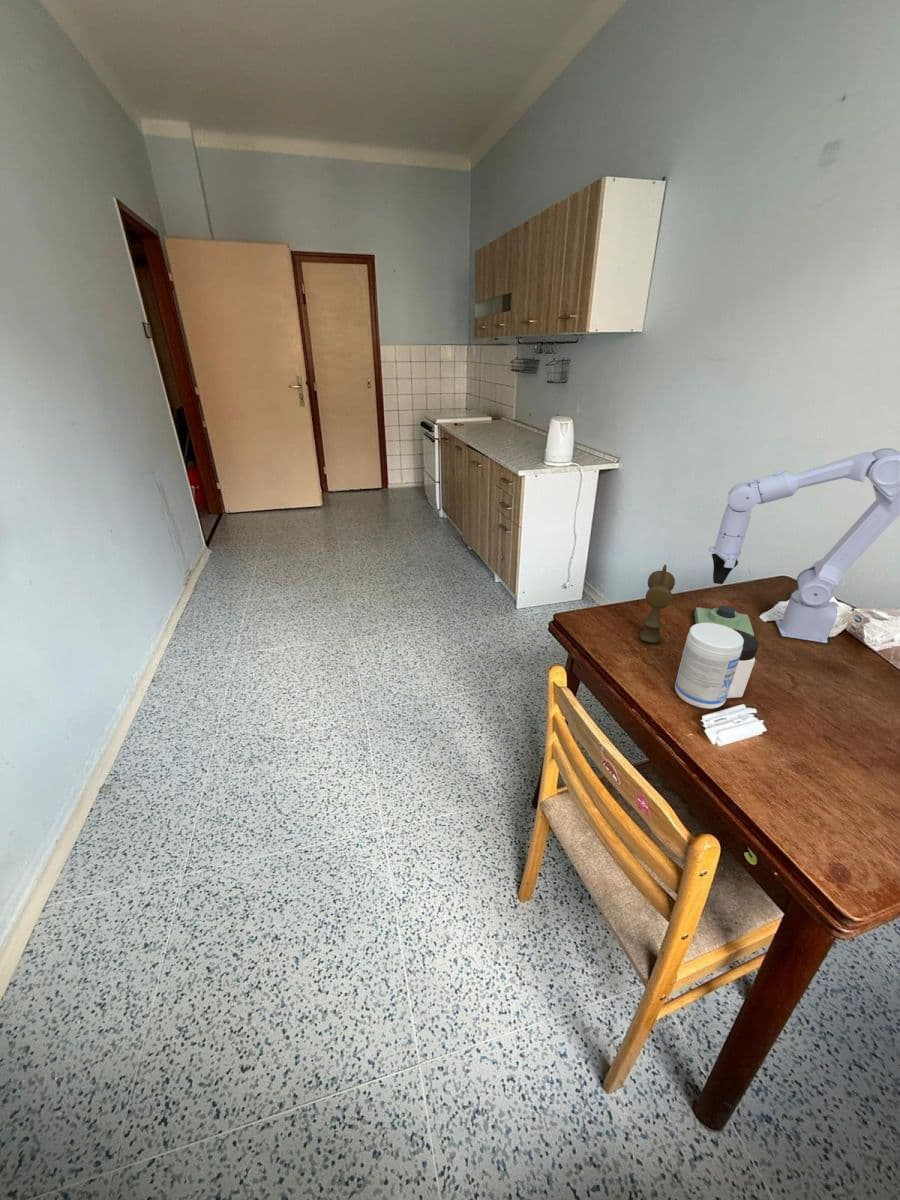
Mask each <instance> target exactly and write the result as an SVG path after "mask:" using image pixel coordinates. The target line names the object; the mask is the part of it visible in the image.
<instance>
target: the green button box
mask: <svg viewBox="0 0 900 1200" xmlns="http://www.w3.org/2000/svg"><path fill="white" fill-rule="evenodd" d="M718 609H719V607H714V608H704V607H700V606H699V607H698V606H695V610H694V621H695V624H698V623H715V624H720V625H723V626H726V627H729V628H731V629H737V630H740V631H743V632H746V633H748V634H750V635H752V636H753V637H755V633H754V630H753V629H754V628H753V626H752V623H751V620H750V616H749V615H748V614H745V613H740V612H739V613H738V612H737V611H736V610H735V614H734V617H733V618H724V617H722V616H719V615H718V614H717V613H718Z"/></svg>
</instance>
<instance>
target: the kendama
mask: <svg viewBox="0 0 900 1200" xmlns="http://www.w3.org/2000/svg"><path fill="white" fill-rule="evenodd" d="M675 584H676V578H675V577H674V574H672V573H671V572H669V571H667V564H664V565H663V566H662V569H661V570H656V571H653V572H652V573H651V574H650V575H649V576H648V579H647V587H648V590H647V591H646V593H645V602H646V604H647V605H649V606H650V607H651V608H650V611H649V613H648V615H647V616H646V617H645V618H644V619H643V621H642V624H643V629H642V630H641V631H640V632H639V633H638V638H639V639H640V640H641V641H643V642H644V643H648V644H658V643H660V642H661V640H662V637H661V634H660V629H661V628H662V626H663V622H662V620H661V610H663V609H665V608H668V607H669V606H670V605H671V603H672V601H673V593H672V590H673V589H674V587H675Z"/></svg>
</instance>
